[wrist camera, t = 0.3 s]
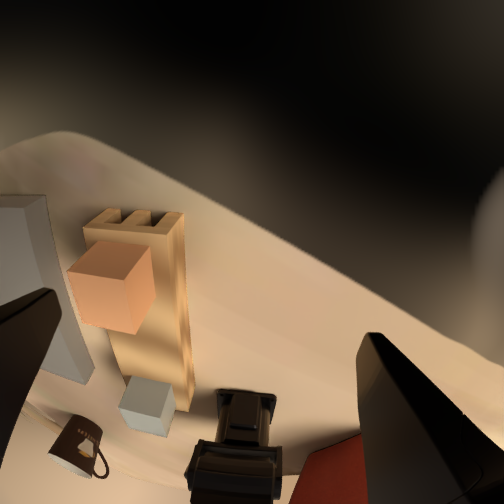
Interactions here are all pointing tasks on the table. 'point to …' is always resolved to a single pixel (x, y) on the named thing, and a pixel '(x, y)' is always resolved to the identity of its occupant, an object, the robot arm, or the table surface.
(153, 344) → the wooden block
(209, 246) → the table surface
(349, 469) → the plant pot
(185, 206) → the table surface
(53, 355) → the dock
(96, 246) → the orange cube
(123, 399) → the grey cube
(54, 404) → the table surface
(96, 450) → the coffee mug
